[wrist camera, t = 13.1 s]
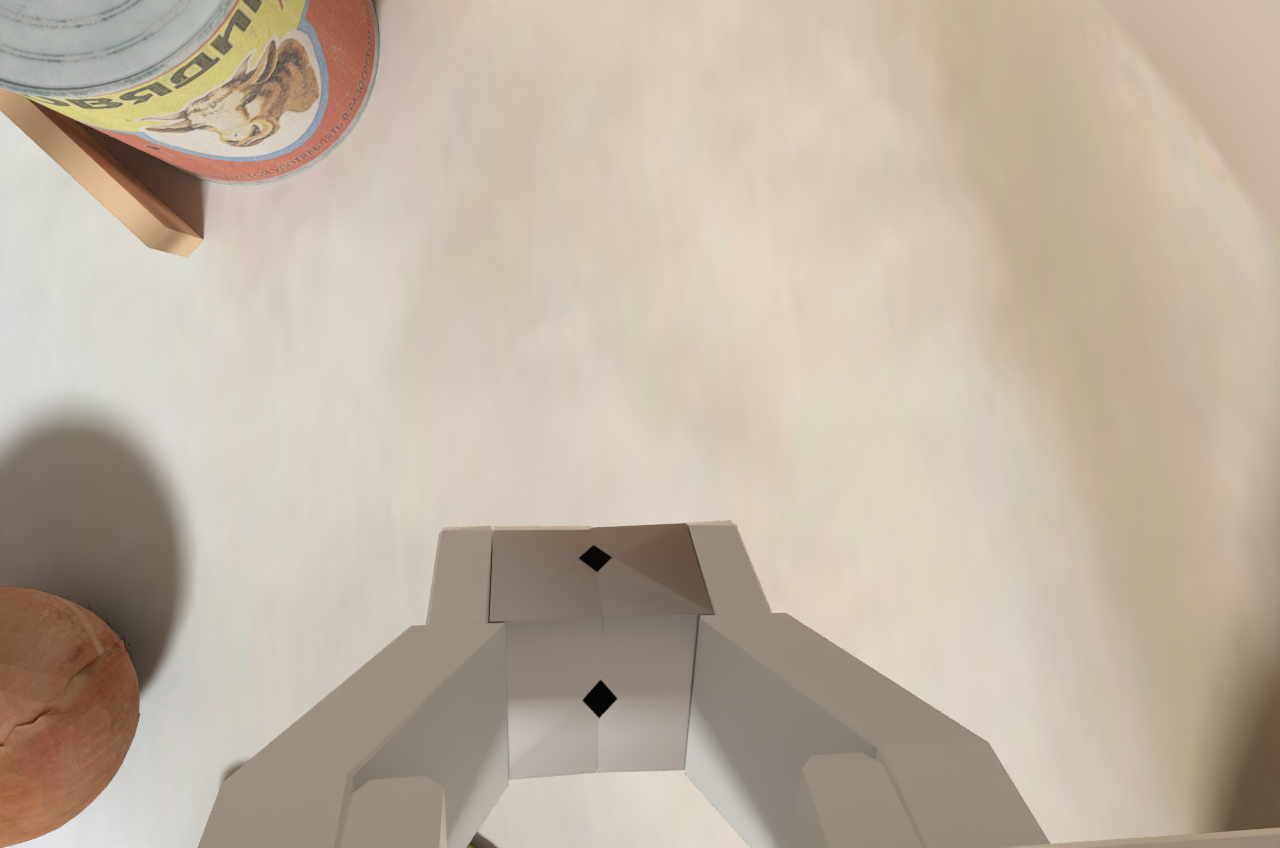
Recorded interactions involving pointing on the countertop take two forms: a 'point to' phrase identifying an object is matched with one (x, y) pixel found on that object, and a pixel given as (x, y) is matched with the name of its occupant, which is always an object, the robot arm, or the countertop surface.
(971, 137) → the countertop surface
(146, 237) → the cradle
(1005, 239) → the countertop surface
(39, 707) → the onion
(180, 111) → the canned food
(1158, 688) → the countertop surface
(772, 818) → the robot arm
